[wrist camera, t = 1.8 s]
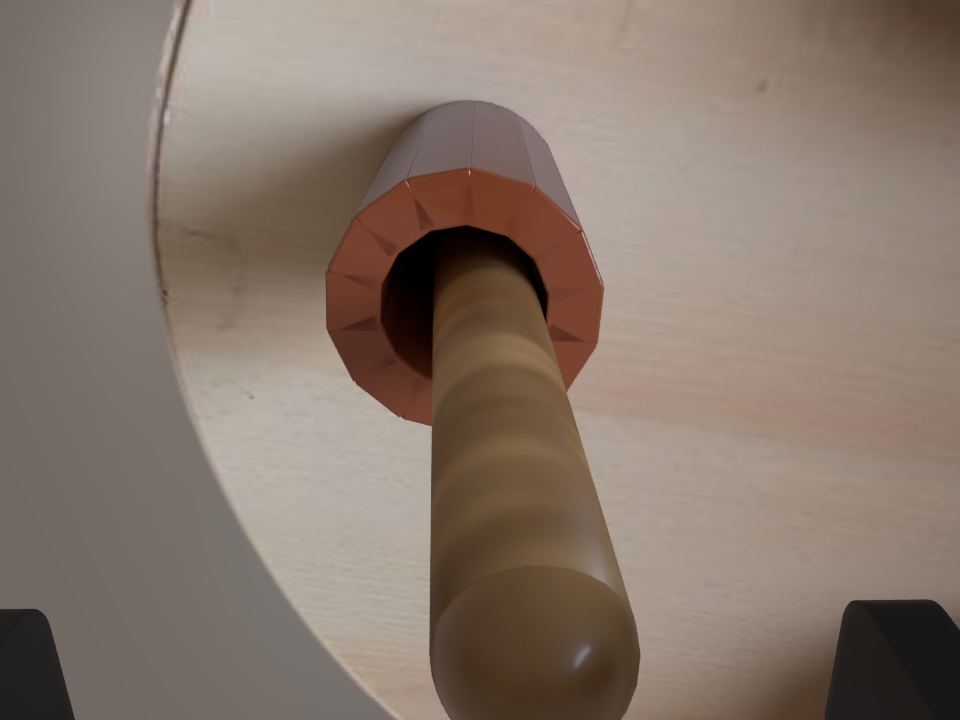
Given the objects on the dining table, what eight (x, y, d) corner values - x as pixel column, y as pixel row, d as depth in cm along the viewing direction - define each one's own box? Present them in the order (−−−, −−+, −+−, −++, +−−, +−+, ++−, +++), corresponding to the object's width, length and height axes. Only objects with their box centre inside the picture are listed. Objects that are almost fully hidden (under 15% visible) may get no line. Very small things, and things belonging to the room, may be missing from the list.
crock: (353, 225, 30) (280, 360, 19) (434, 63, 28) (405, 113, 17) (502, 304, 32) (513, 473, 21) (592, 154, 29) (657, 254, 18)
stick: (421, 209, 29) (388, 773, 9) (455, 146, 29) (502, 609, 8) (483, 242, 30) (583, 840, 10) (518, 181, 29) (709, 695, 9)
